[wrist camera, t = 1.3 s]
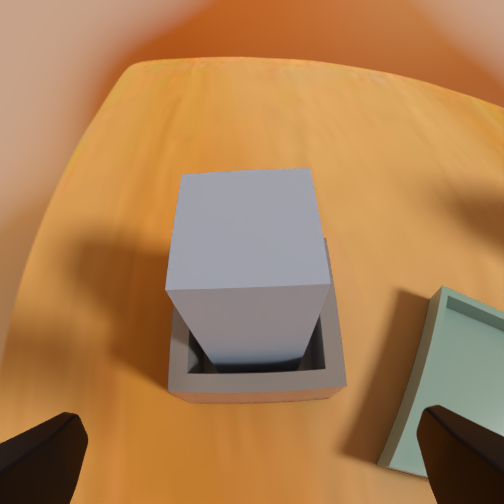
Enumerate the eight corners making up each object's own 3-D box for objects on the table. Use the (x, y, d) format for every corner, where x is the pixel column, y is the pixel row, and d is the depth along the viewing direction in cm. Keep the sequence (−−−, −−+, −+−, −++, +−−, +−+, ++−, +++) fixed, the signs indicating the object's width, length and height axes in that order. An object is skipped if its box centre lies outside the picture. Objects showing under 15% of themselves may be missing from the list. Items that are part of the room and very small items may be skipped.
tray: (508, 491, 12) (526, 491, 11) (376, 464, 16) (388, 466, 14) (539, 346, 19) (555, 336, 17) (429, 299, 22) (442, 285, 20)
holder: (328, 398, 19) (346, 385, 15) (189, 402, 19) (167, 391, 15) (316, 277, 24) (325, 237, 20) (195, 281, 24) (179, 244, 20)
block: (297, 369, 20) (330, 283, 10) (218, 372, 20) (165, 289, 10) (292, 299, 22) (309, 168, 12) (219, 302, 22) (182, 174, 12)
